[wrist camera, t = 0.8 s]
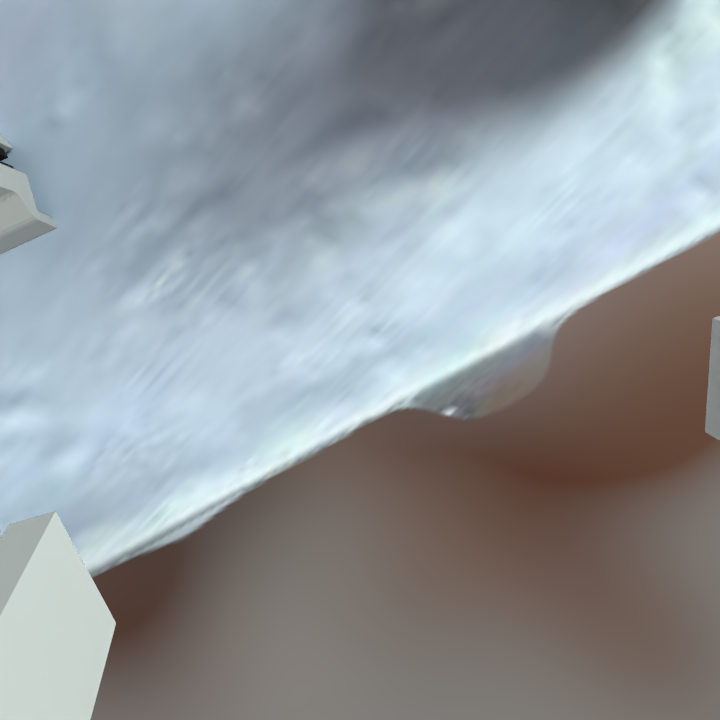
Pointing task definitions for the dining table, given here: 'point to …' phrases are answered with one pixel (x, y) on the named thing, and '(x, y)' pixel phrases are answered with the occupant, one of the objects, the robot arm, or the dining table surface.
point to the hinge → (18, 206)
